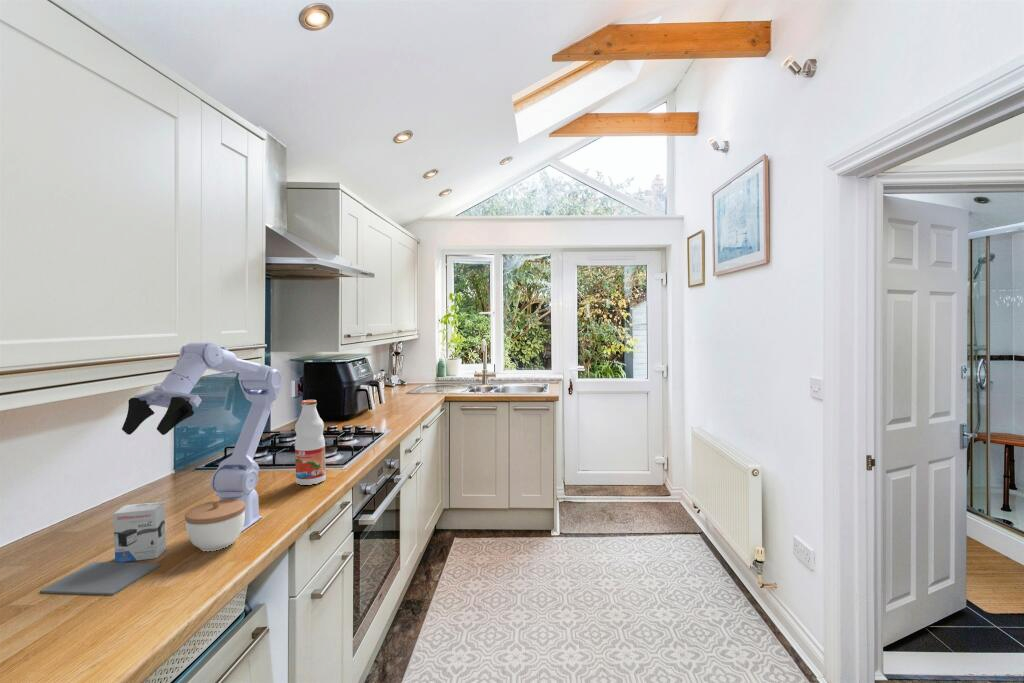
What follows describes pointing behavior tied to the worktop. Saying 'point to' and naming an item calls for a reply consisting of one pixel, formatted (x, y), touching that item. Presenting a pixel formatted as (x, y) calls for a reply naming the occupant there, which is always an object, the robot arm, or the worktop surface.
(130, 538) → the ink box
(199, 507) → the lidded bowl
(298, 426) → the fruit juice
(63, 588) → the mat
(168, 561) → the worktop surface
